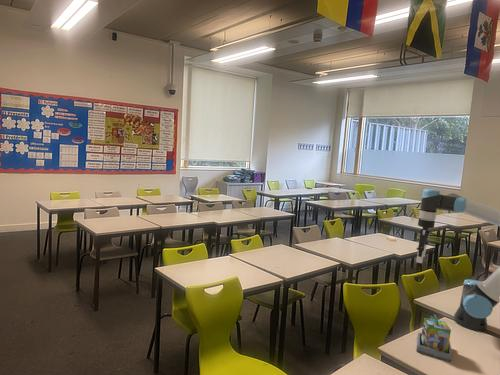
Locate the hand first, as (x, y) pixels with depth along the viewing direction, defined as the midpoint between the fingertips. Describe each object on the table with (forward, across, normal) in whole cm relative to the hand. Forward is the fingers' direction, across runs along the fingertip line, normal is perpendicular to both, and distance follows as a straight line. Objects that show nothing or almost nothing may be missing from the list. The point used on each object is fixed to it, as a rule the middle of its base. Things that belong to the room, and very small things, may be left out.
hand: (420, 259), depth 190 cm
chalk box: (+31, +28, +12) cm, 44 cm away
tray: (+32, +28, +12) cm, 44 cm away
